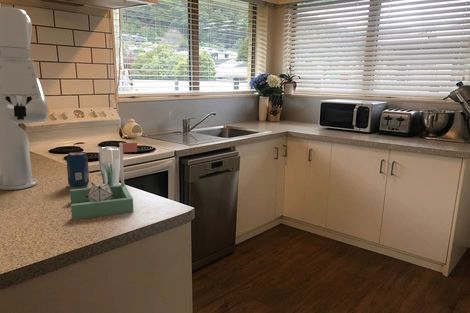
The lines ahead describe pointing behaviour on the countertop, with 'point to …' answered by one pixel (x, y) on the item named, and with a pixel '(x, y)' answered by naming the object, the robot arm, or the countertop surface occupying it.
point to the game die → (100, 192)
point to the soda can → (77, 169)
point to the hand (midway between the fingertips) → (20, 119)
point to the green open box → (107, 205)
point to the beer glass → (109, 164)
